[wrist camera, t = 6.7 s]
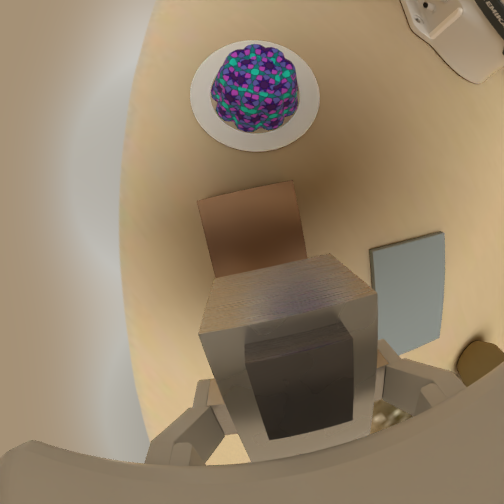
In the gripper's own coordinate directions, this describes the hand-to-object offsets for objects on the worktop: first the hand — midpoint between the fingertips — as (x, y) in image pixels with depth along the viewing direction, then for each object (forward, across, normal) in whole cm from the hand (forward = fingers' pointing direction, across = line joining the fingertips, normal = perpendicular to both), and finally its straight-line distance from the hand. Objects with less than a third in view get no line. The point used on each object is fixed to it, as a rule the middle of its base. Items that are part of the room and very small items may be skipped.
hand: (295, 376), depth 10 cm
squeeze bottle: (+16, -30, +23) cm, 41 cm away
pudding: (+17, -2, -16) cm, 23 cm away
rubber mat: (+16, -16, +8) cm, 24 cm away
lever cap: (+1, 0, +1) cm, 2 cm away
